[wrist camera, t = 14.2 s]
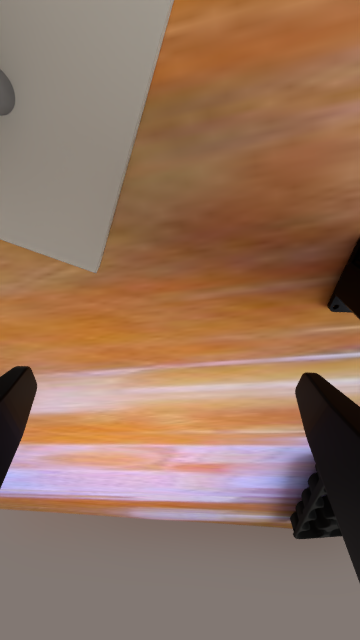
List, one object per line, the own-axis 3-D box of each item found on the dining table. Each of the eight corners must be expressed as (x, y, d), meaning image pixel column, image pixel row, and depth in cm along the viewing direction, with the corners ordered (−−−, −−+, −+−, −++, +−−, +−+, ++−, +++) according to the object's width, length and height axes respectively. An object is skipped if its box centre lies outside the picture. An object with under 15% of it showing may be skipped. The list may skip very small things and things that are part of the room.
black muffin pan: (402, 436, 37) (422, 463, 34) (374, 510, 55) (386, 533, 52) (277, 457, 40) (285, 484, 37) (288, 521, 57) (295, 543, 54)
